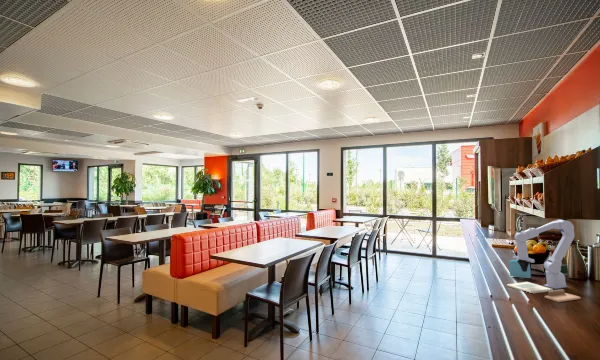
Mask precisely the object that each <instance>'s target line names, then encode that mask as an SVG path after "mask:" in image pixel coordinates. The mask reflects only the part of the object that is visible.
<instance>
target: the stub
mask: <svg viewBox="0 0 600 360" xmlns="http://www.w3.org/2000/svg"><path fill="white" fill-rule="evenodd" d="M547 294H548V295H544V298H545V299H548V300H550V301H554V302H557V303H562V302H567V301H574V300H581V296H578V295H575V294H571V293H567V292H565V289H563V288H559V289H553V291H547Z"/></svg>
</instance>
